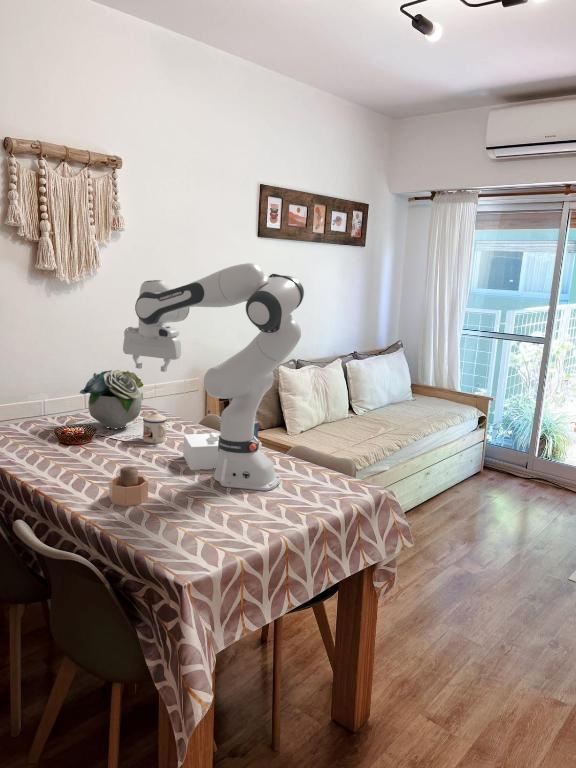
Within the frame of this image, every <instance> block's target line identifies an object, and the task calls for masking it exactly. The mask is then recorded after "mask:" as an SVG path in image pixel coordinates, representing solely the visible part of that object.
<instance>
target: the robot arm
mask: <svg viewBox="0 0 576 768" xmlns="http://www.w3.org/2000/svg"><path fill="white" fill-rule="evenodd" d="M304 294H305V291H304V287H303V284H302V283H301V282H300V281H299V280H298V279H297V278H295V277H293V276H290V275H282V274H277V273H271V274H270V275H268V276H266V275H265V274H264V271H263V269H262V268H261V267H260V266H259V265H257V264H255V263H252V262H250V263H249V262H247V263H240V264H235V265H231V266H228V267H225V268H223V269H221V270H218V271H216V272H214V273H211V274H209V275H207V276H205V277H202V278H200V279H197V280H195V281H192V282H190V283H187V284H185V285H181V286H178V287H176V288H171V287H169V286H168V285H167V283H166V282H165V281H164V280H160V279H159V280H157V279H154V280H151V279H150V280H146V281H144V282H142V283H141V285H140V288H139V296H138V298H137V299H136V301H135V306H134V307H135V308H134V310H135V314H136V316H137V317H138V327H133V326H128V327H127V328H125V329H124V332H123V333H124V334H123V336H124V337H123V338H124V339H123V342H122V343H123V344H122V351H123V353H124V354H125V355H131V356H132V359H133V361H134V363H135V369H138V370H139V369H142V368H143V362H141V361H140V359H139V358H140V356H141V357H150V358H157V359H163V362H164V364H163V365H161V366H160V372H163V373H166V372H167V371H168V367H169V365H170V363H171V361H173V360H179V359H181V356H182V346H181V339H180V338H179V337H178V336H180V330H179V329H178V328H175V327H173V326H171V325H169V323H178V322H179V323H180V322H182V321H185V320H186V318H187V317H188V316H189V313H190V308H197V307H198V308H201V307H202V308H227V307H233V306H236V305H238V304H241V303H244V302H246V303H245V313H246V315H247V318H248V319H249V321H250V322H251V323H252V324H253V326H255V327H256V328H257V329H258V330H259V333H258V334H257V335H256V336H255V337H254V338H253V339H252V340H251V342H250V343H249V344H247V346H245V347H244V348H243V349H242V350H240V351H238V352H237V353H236V354H234V355H233V356H231V357H230V358H228V359H226V360H225V361H223V362H222V363H220V364H217V365H215V366H213V367H210V368H209V369H208V370H206V372H205V375H204V378H203V385H204V389H205V390H206V391H205V392H207V394H208V396H210V397H212V398H215V399H227V400H228V399H231V401H230V403H229V404H228V406H226V407H225V408H224V410H223V411H222V412H221V415H220V430H219V432H220V436H219V441H218V452H219V455H218V461H217V466H216V469H214V474H213V479H214V480H215V481H216V482H218V483H219V484H220V486H222V487H224V488H225V487H227V488H234V489H244V490H245V489H246V490H253V491H254V490H255V491H263V492H264V491H270V490H273V489H275V488H276V487H278V486H279V485H280V483H281V482H280V481H282V477H281V475H280V474H279V473H275V472H276V471H275V464H274V462H273V460H272V459H271V458H269V457H268V456H267V455H266V454H265V453H263V451H262V450H261V451H260V450H259V449H258V448H259V443H260V442H261V439H258V441H257V440H256V439H255V438H254V424H255V421H256V416H257V415H256V414H257V412H258V408H259V407H260V403H261V402H262V399H263V397H264V396H265V395H266V393H267V392H268V391H269V390H270V389H271V388H272V386H273V384H274V381H275V380H274V379H275V377H274V376H275V375H274V372H273V371H274V370H275V369H276V368H277V367H278V366H279V365H281V363H282V362H284V360H285V359H287V357H288V356H289V355H290V354H291V353H292V351H294V349H295V347H297V345H298V344H299V341H300V340H301V337H302V330H301V327H300V325H299V324H298V323H297V321H296V320H294V318H293V316H292V313H293V312H294V311H295V310H296V309H298V308H299V307H300V305H301V304H302V302H303V300H304V296H305V295H304ZM167 323H168V324H167ZM278 484H279V485H278ZM277 485H278V486H277Z"/></svg>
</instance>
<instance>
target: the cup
mask: <svg viewBox="0 0 576 768" xmlns="http://www.w3.org/2000/svg"><path fill="white" fill-rule="evenodd" d="M108 481H109V485H108V495H109V497H108V499H109V501H110V502H111V504H112V505H117V506H123V507H129V506H136V505H141V504H143V503H144V502H146V501H147V500H148V498H149V480H148V479H147V478H146V477H145V476H144V475H139V474H138V486H132V487H122V486H120V475H116V476H115V477H113V478H111V479H110V480H108Z"/></svg>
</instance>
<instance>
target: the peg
mask: <svg viewBox="0 0 576 768" xmlns="http://www.w3.org/2000/svg"><path fill="white" fill-rule="evenodd" d="M119 473H120V474H119V476H120V486H122V487H132V486H138V475H139V469H138V467H135V466H124V467H122V468H120V470H119Z"/></svg>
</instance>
